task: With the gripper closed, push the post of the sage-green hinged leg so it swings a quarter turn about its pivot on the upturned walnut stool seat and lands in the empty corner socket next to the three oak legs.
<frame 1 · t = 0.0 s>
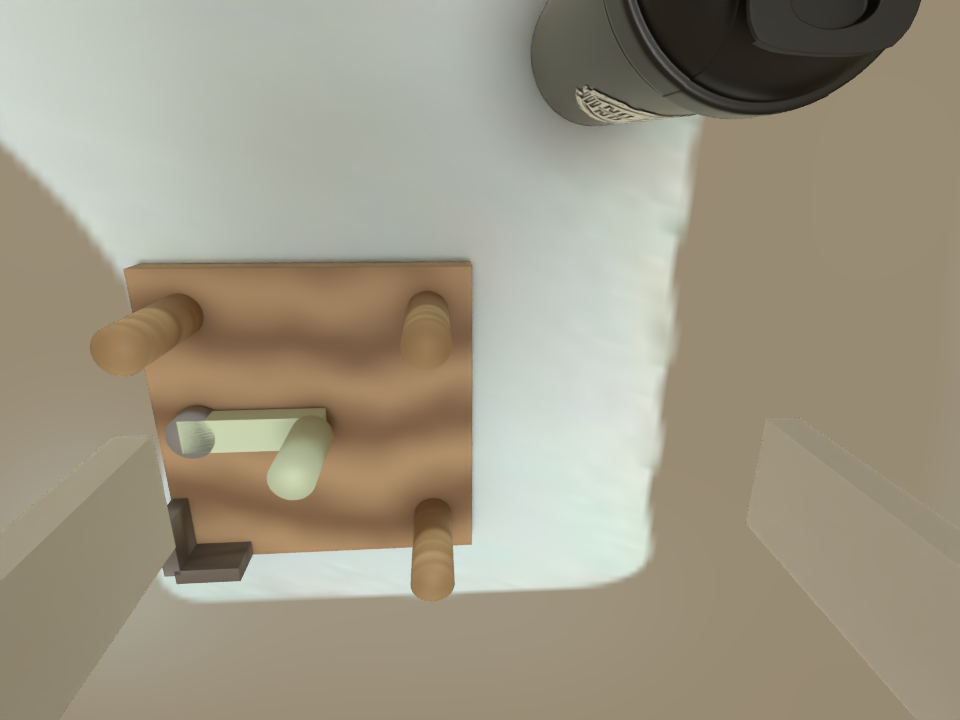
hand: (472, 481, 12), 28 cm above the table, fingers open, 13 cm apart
water bottle: (596, 53, 35), on the table
hinged leg: (239, 450, 35), point 6 cm above the table, hinge at 90.0°
stool seat: (322, 410, 41), on the table
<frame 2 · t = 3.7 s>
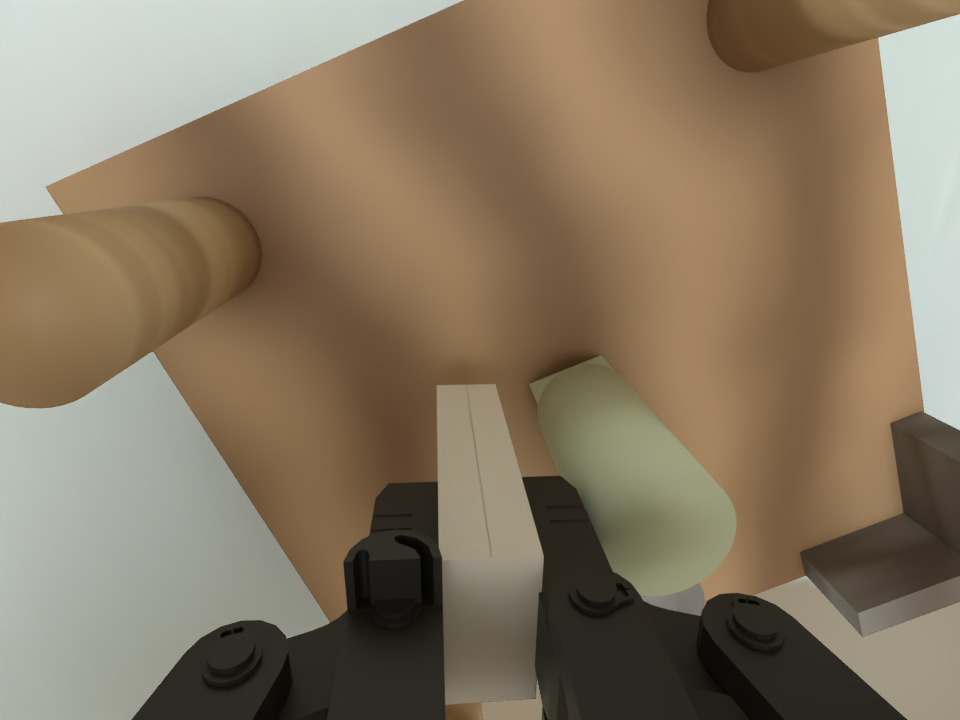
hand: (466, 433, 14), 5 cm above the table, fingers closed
hinged leg: (650, 565, 15), point 6 cm above the table, hinge at 90.0°, touching gripper
stool seat: (557, 365, 20), on the table
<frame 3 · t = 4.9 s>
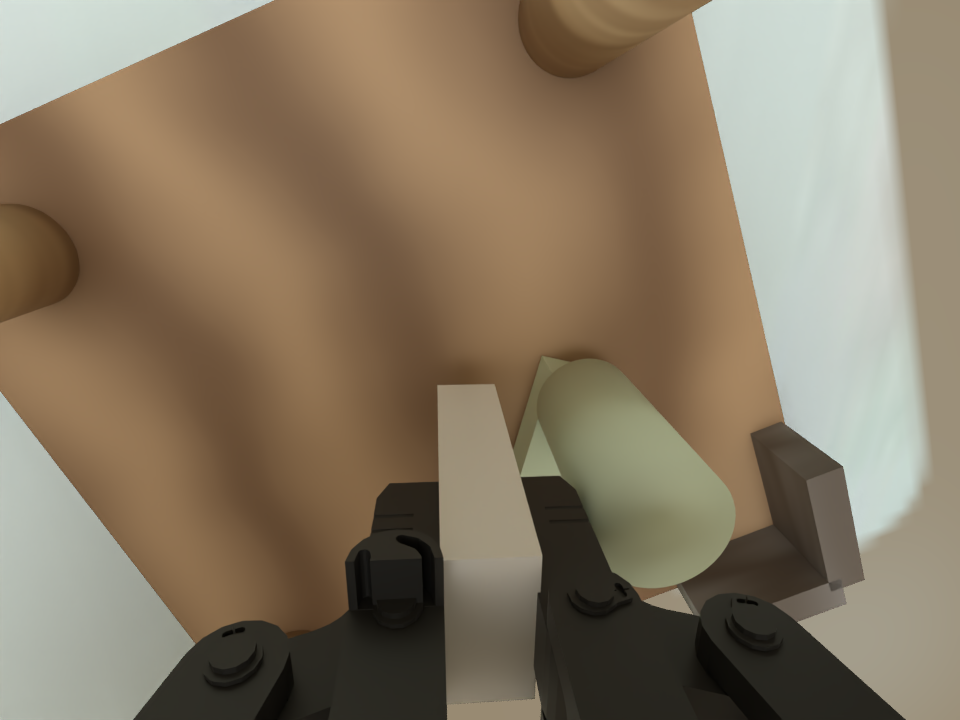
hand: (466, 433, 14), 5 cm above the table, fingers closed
hinged leg: (558, 569, 15), point 6 cm above the table, hinge at 53.7°, touching gripper
stool seat: (415, 373, 19), on the table
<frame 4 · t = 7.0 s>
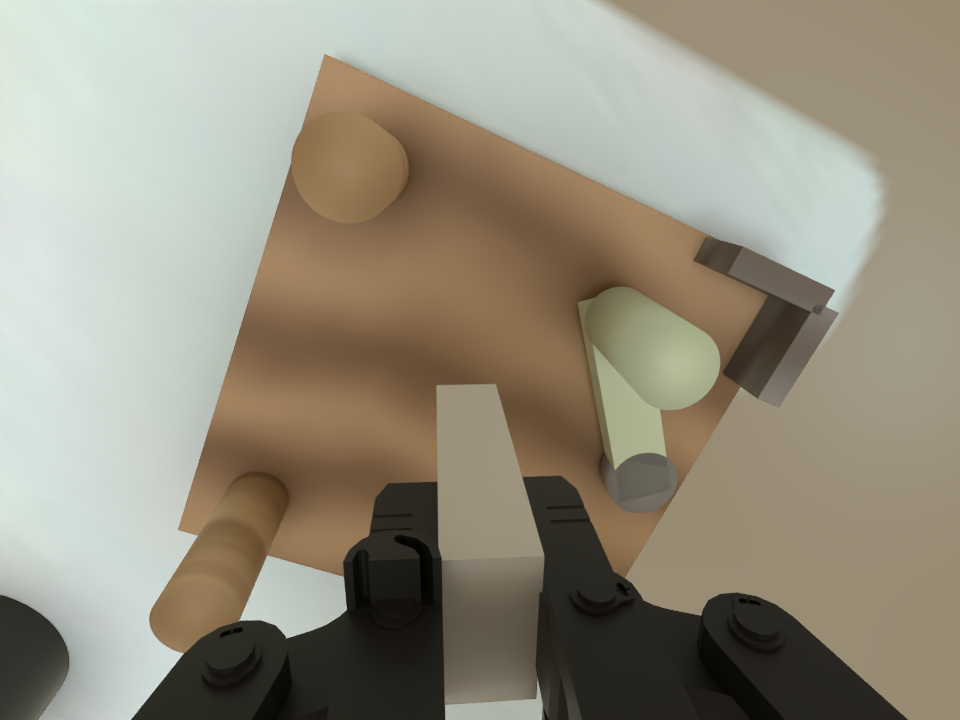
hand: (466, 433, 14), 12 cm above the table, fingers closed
hinged leg: (649, 430, 22), point 6 cm above the table, hinge at 36.8°
stool seat: (477, 392, 27), on the table
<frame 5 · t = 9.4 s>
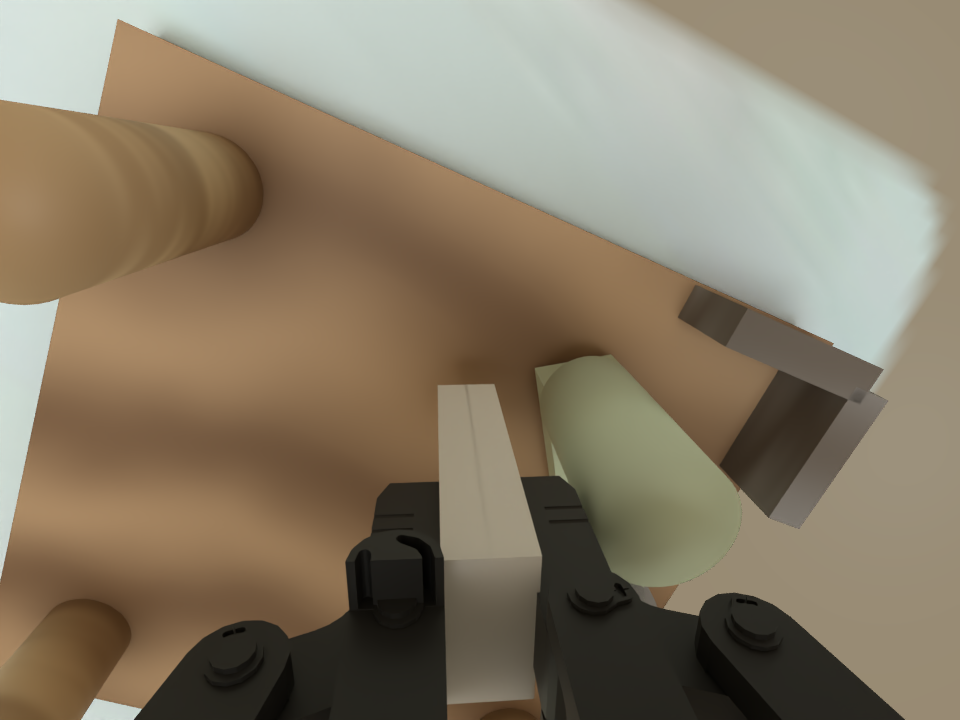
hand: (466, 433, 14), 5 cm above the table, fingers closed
hinged leg: (621, 568, 15), point 6 cm above the table, hinge at 32.4°, touching gripper
stool seat: (392, 483, 21), on the table
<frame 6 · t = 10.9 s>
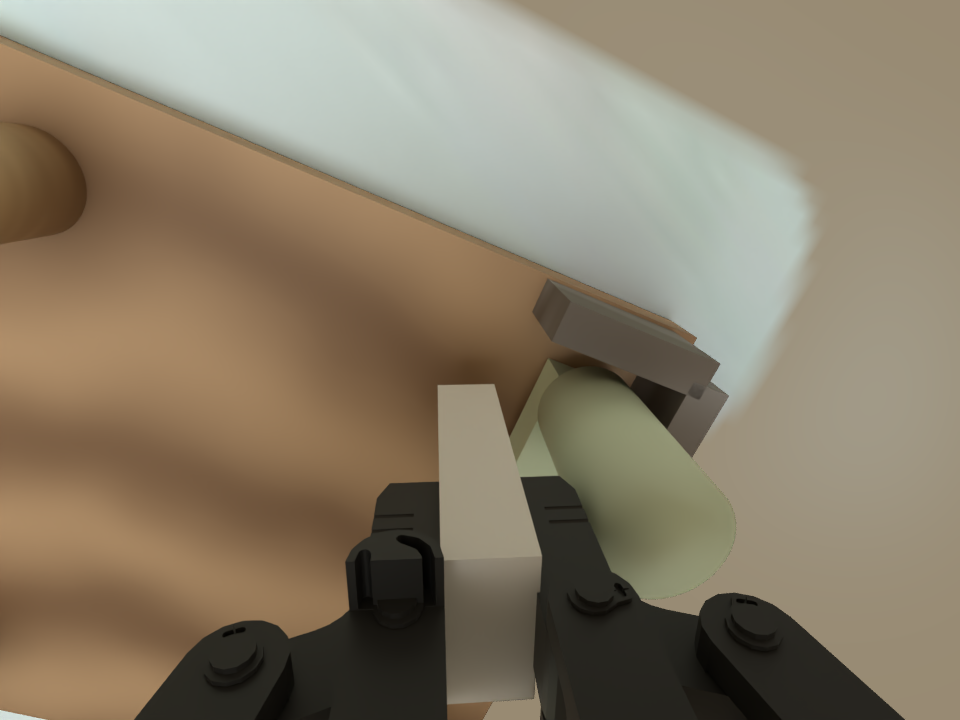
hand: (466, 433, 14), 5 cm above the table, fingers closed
hinged leg: (538, 572, 15), point 6 cm above the table, hinge at -0.2°, touching gripper
stool seat: (267, 483, 20), on the table
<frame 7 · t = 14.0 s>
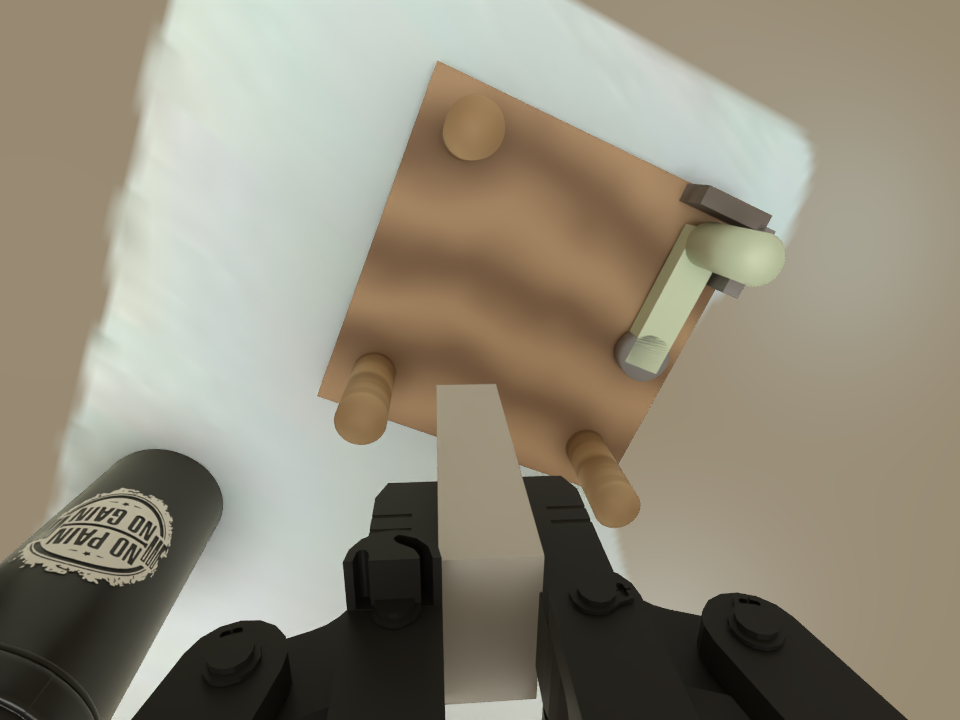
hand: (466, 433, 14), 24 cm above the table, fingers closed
water bottle: (165, 498, 41), on the table
hinged leg: (689, 313, 33), point 6 cm above the table, hinge at -0.3°
stool seat: (526, 300, 38), on the table
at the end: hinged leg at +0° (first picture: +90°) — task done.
